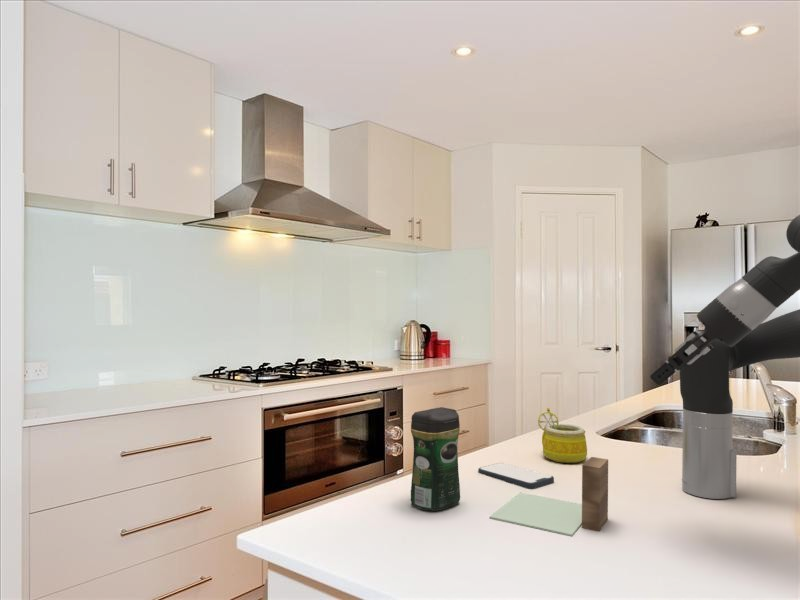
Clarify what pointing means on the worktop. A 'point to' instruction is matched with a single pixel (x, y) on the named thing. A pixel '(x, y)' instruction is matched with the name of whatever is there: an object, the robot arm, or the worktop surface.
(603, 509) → the walnut block
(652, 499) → the worktop surface
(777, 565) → the worktop surface
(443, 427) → the coffee jar
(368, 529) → the worktop surface
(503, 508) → the mat
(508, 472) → the smartphone
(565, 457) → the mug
